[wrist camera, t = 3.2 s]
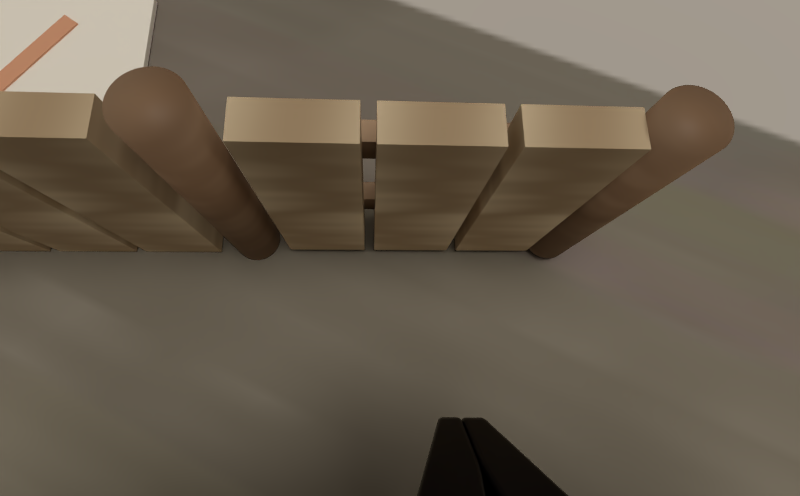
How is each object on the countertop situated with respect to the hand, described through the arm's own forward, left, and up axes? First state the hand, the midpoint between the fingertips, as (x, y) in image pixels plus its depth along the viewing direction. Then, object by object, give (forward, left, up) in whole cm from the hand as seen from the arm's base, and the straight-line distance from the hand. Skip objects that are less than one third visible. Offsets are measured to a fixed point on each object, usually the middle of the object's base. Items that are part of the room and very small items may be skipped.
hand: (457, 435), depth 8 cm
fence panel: (+3, +6, -8) cm, 10 cm away
